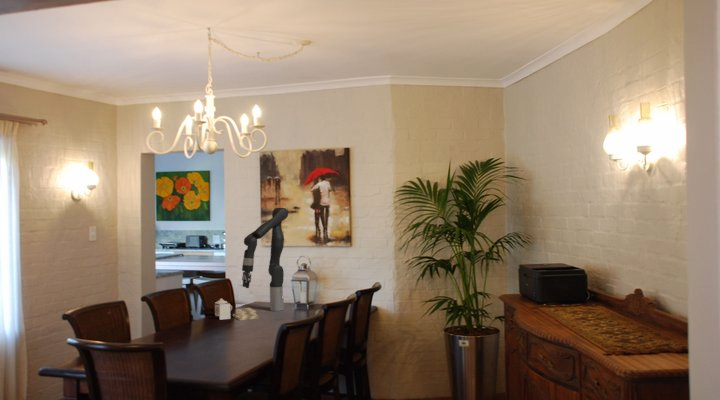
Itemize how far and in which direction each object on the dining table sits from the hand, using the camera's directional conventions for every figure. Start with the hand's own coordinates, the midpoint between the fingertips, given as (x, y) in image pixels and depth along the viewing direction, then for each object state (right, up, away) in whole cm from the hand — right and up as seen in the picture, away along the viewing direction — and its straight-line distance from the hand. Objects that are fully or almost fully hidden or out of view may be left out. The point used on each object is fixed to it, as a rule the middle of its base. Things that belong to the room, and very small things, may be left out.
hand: (245, 287), depth 397 cm
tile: (-11, -19, -16) cm, 27 cm away
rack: (+3, -19, -11) cm, 22 cm away
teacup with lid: (-15, -19, -2) cm, 25 cm away
